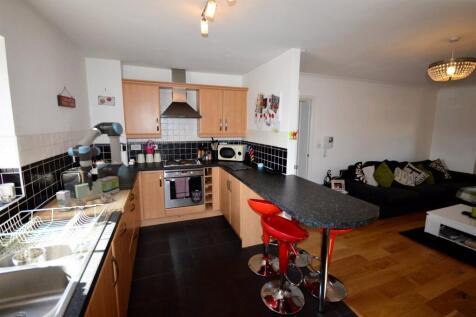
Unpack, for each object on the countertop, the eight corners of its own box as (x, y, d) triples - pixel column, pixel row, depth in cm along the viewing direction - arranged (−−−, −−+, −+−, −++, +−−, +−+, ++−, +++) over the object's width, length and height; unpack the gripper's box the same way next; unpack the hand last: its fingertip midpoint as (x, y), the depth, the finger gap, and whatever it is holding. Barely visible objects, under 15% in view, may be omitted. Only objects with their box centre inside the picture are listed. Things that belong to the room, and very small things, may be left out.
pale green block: (100, 192, 183) (99, 180, 181) (102, 193, 180) (101, 181, 178) (76, 197, 170) (74, 185, 168) (78, 198, 166) (76, 186, 165)
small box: (84, 195, 188) (82, 182, 187) (76, 198, 182) (74, 184, 180) (73, 194, 192) (71, 181, 190) (65, 196, 186) (63, 183, 184)
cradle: (106, 198, 181) (106, 192, 180) (112, 202, 174) (112, 195, 173) (75, 206, 164) (74, 199, 163) (80, 210, 157) (79, 203, 156)
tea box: (107, 196, 187) (105, 180, 184) (97, 195, 189) (95, 179, 186) (119, 191, 201) (118, 176, 199) (110, 190, 203) (109, 175, 201)
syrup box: (72, 208, 159) (70, 190, 157) (66, 212, 153) (64, 192, 151) (64, 208, 159) (62, 190, 157) (58, 212, 153) (55, 192, 151)
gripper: (77, 164, 173) (80, 192, 177) (84, 167, 162) (88, 197, 166) (87, 163, 179) (90, 190, 183) (95, 166, 168) (98, 194, 172)
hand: (89, 193), depth 174 cm, fingers closed on pale green block, 5 cm apart
